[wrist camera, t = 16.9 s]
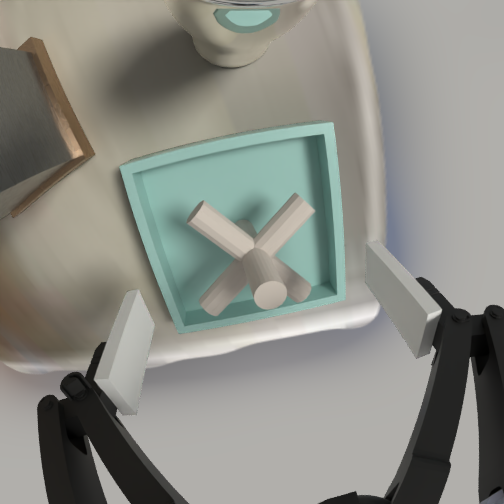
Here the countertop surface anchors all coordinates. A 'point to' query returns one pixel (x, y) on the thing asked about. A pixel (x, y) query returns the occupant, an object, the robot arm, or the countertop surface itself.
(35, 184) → the mounted unit
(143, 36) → the countertop surface
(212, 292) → the pipe connector
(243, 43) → the beer glass
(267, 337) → the countertop surface
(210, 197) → the tray
